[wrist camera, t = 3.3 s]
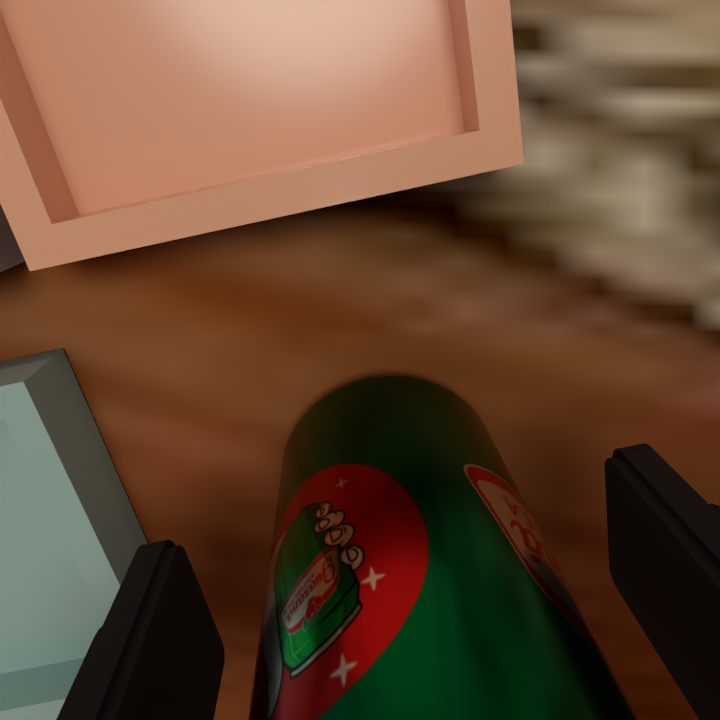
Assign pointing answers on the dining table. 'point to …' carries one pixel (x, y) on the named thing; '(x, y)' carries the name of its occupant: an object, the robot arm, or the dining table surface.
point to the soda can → (416, 576)
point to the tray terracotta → (238, 112)
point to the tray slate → (8, 245)
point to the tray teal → (54, 534)
